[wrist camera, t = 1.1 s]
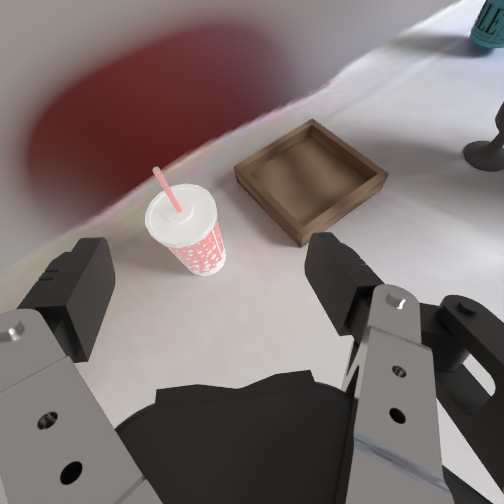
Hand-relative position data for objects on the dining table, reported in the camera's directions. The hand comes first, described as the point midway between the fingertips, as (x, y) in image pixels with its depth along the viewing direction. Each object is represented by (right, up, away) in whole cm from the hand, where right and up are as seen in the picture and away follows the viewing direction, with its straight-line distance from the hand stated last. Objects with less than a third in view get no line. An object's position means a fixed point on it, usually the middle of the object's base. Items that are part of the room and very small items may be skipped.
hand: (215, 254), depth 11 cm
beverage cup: (-4, -1, +20) cm, 20 cm away
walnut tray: (+8, +8, +23) cm, 26 cm away
